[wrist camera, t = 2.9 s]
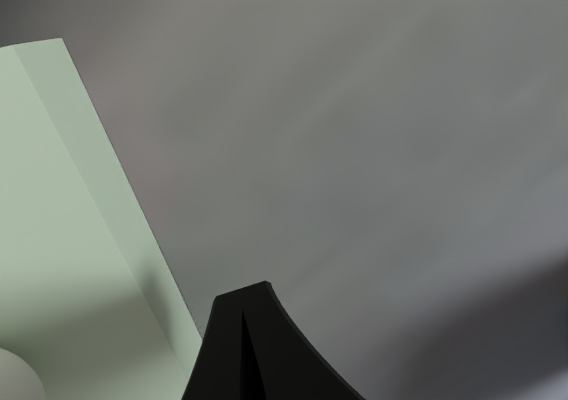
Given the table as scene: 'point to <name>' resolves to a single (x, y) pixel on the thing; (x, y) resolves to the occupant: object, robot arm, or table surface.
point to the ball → (18, 379)
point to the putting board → (79, 247)
